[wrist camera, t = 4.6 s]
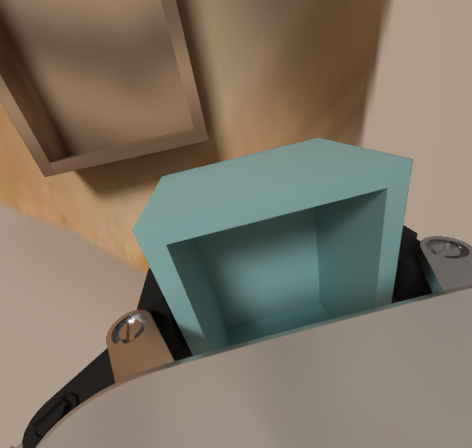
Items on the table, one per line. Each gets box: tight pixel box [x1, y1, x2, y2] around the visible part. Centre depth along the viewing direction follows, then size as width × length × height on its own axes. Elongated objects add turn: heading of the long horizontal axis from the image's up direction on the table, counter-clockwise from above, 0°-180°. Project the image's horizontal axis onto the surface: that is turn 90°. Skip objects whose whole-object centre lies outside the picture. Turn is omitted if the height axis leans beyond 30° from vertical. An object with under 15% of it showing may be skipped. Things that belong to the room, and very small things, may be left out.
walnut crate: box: [0, 0, 209, 177], centre depth 14 cm, size 15×12×4 cm
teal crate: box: [132, 138, 413, 356], centre depth 10 cm, size 10×7×5 cm
